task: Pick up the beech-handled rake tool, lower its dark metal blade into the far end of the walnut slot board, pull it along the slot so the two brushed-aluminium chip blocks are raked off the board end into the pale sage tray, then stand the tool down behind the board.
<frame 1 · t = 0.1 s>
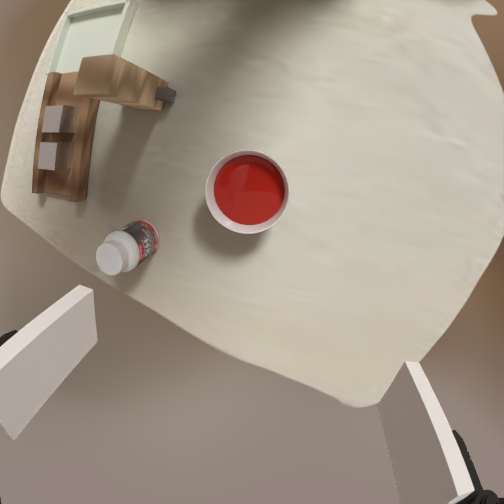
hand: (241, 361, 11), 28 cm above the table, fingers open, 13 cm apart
tray: (92, 39, 31), on the table
chip b: (63, 154, 36), point 1 cm above the table, touching slot board
chip a: (68, 119, 34), point 1 cm above the table, touching slot board
slot board: (70, 132, 36), on the table
pill bottle: (144, 236, 40), on the table
rake: (152, 95, 33), on the table
white round cup: (253, 186, 36), on the table
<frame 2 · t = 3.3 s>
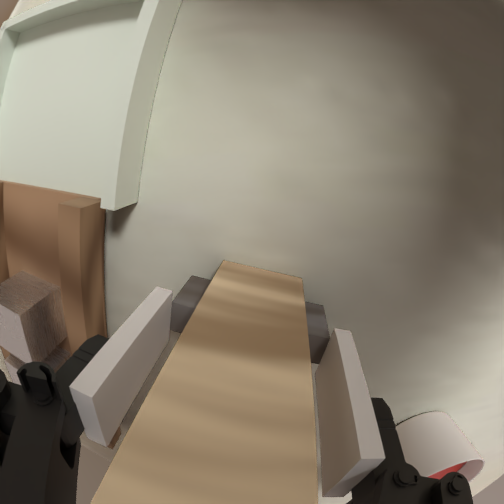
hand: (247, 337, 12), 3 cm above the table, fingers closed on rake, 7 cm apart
tray: (59, 90, 12), on the table
chip b: (55, 361, 18), point 1 cm above the table, touching slot board
chip a: (43, 303, 16), point 1 cm above the table, touching slot board
slot board: (55, 320, 18), on the table
rake: (254, 303, 15), on the table, touching gripper
white round cup: (413, 433, 18), on the table
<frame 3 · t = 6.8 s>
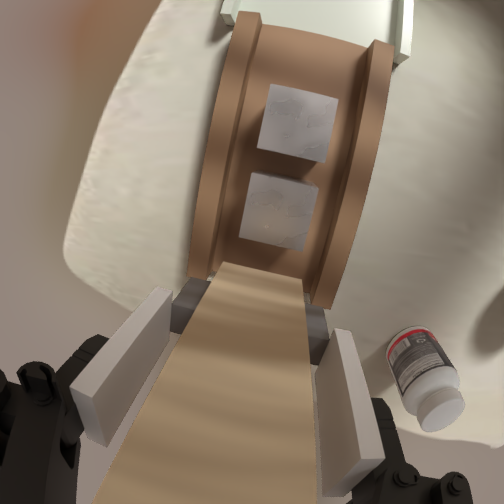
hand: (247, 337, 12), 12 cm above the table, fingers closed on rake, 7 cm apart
chip b: (279, 202, 21), point 1 cm above the table, touching slot board
chip a: (295, 128, 19), point 1 cm above the table, touching slot board
slot board: (289, 155, 21), on the table
pill bottle: (408, 345, 25), on the table
rake: (254, 305, 15), point 9 cm above the table, touching gripper
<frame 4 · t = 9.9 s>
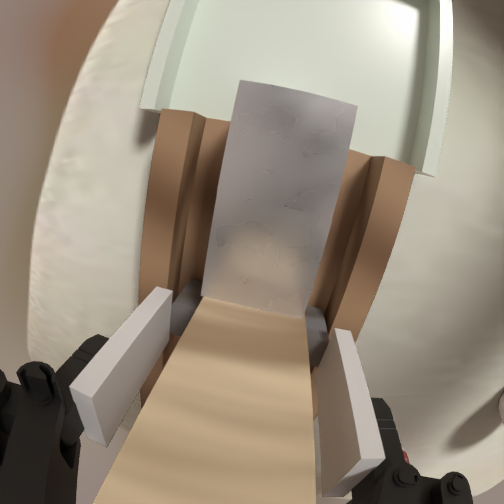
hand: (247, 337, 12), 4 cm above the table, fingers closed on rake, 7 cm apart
tray: (311, 32, 12), on the table
chip b: (268, 231, 14), point 1 cm above the table, touching chip a, rake
chip a: (286, 149, 13), point 1 cm above the table, touching chip b
slot board: (248, 311, 17), on the table
rake: (253, 306, 15), point 1 cm above the table, touching chip b, gripper
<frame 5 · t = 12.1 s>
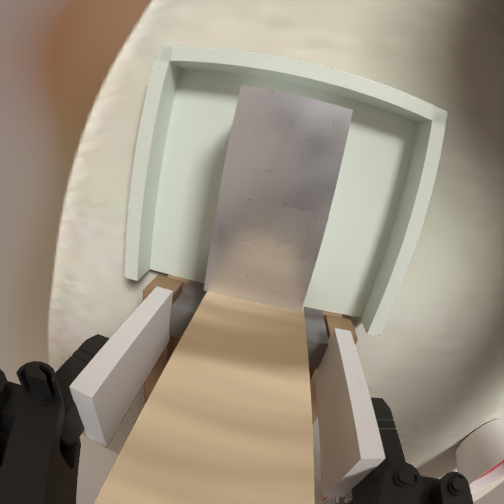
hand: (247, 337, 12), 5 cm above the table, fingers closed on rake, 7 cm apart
tray: (280, 185, 14), on the table
chip b: (268, 229, 15), point 1 cm above the table, touching chip a, rake, tray
chip a: (285, 151, 13), point 1 cm above the table, touching chip b, tray
slot board: (228, 403, 20), on the table
pill bottle: (345, 488, 24), on the table
rake: (253, 308, 15), point 2 cm above the table, touching chip b, gripper
white round cup: (478, 436, 20), on the table
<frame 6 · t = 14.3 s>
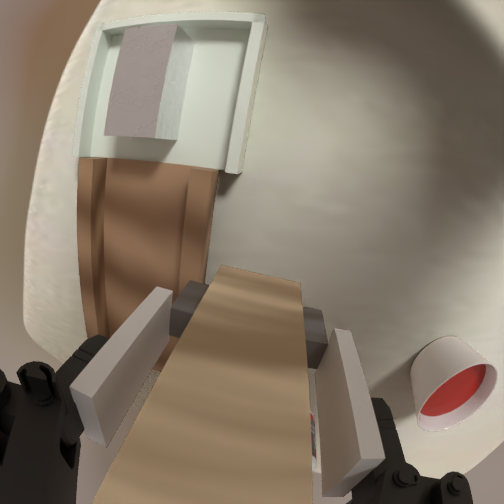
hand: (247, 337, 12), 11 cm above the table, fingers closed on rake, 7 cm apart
tray: (166, 88, 19), on the table
chip b: (157, 113, 19), point 1 cm above the table, touching chip a, tray
chip a: (166, 65, 18), point 1 cm above the table, touching chip b, tray
slot board: (147, 276, 25), on the table
rake: (252, 308, 15), point 8 cm above the table, touching gripper
white round cup: (437, 360, 25), on the table
when the fingers open (4 cm above the table, at t = 16.3 s): rake drops 1 cm, on the table.
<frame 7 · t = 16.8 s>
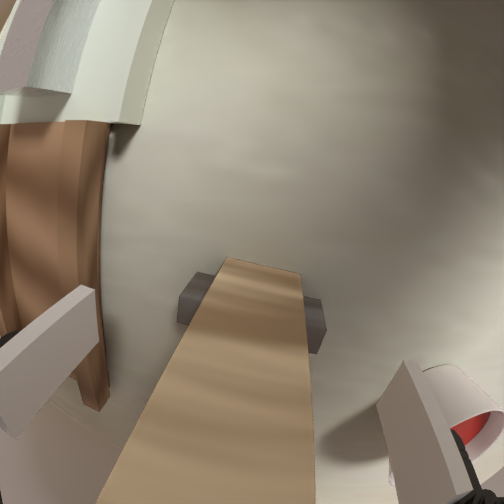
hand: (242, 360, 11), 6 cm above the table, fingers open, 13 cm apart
tray: (73, 38, 12), on the table
chip b: (58, 66, 12), point 1 cm above the table, touching chip a, tray
chip a: (75, 14, 11), point 1 cm above the table, touching chip b, tray
slot board: (48, 264, 17), on the table
rake: (256, 298, 16), on the table
white round cup: (426, 394, 18), on the table
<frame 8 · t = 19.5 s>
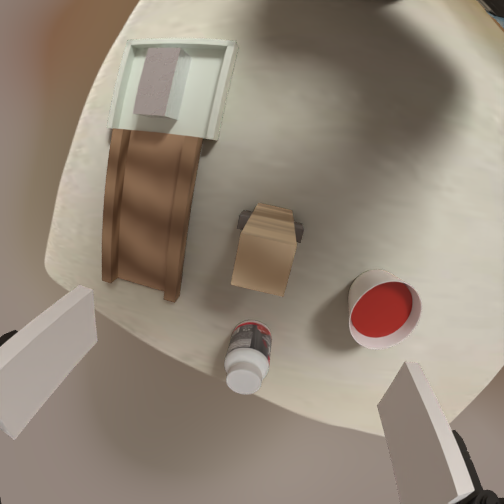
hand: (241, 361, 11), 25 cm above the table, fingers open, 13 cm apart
tray: (172, 86, 30), on the table
chip b: (166, 102, 30), point 1 cm above the table, touching chip a, tray
chip a: (173, 72, 29), point 1 cm above the table, touching chip b, tray
slot board: (151, 211, 35), on the table
pill bottle: (252, 334, 39), on the table
rake: (271, 222, 34), on the table
white round cup: (372, 292, 36), on the table
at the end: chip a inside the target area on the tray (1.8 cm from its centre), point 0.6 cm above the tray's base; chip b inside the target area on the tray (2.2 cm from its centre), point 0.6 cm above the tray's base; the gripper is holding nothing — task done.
